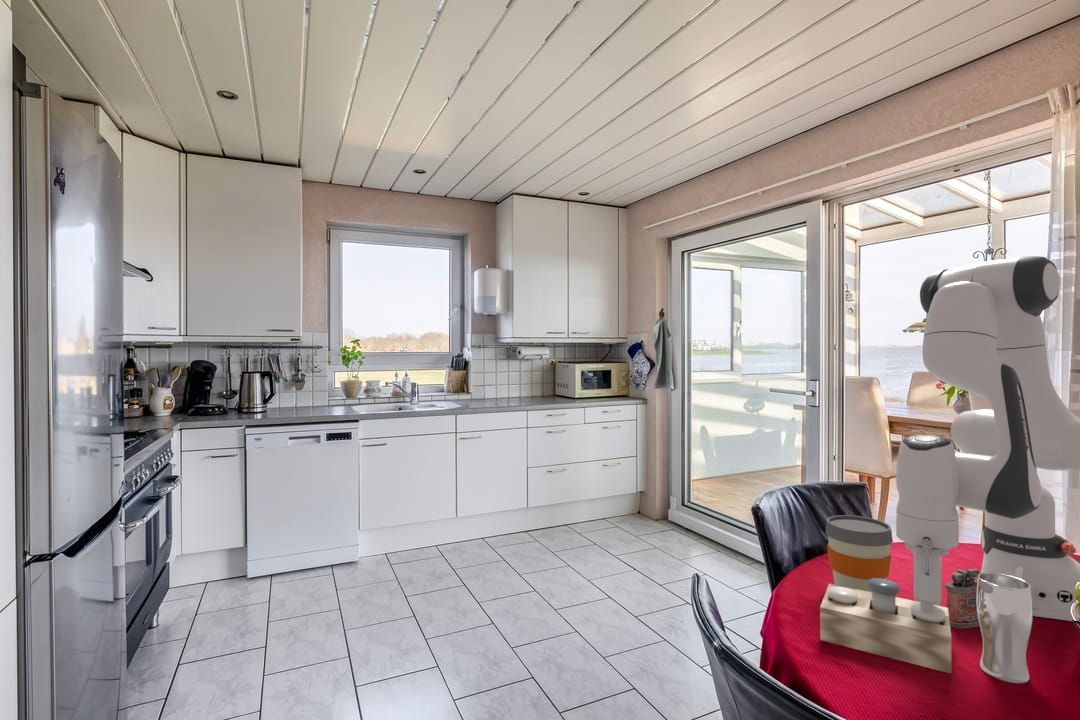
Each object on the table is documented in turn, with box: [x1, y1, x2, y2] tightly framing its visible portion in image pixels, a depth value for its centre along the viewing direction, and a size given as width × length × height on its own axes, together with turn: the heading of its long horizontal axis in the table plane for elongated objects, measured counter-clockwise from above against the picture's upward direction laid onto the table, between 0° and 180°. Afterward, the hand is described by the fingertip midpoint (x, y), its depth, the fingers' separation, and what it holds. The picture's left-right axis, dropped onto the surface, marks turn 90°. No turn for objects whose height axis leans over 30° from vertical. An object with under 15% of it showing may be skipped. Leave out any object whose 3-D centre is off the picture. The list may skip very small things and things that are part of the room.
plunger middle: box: [868, 578, 900, 615], centre depth 98 cm, size 5×5×7 cm
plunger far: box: [828, 587, 857, 606], centre depth 102 cm, size 5×5×7 cm
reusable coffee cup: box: [825, 514, 894, 592], centre depth 118 cm, size 13×13×15 cm
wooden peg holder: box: [819, 583, 952, 674], centre depth 99 cm, size 19×12×6 cm, turn 55°
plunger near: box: [911, 603, 945, 625], centre depth 95 cm, size 5×5×7 cm
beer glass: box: [976, 572, 1034, 684], centre depth 88 cm, size 7×7×15 cm
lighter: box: [944, 568, 981, 629], centre depth 104 cm, size 8×3×10 cm, turn 105°
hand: (926, 609), depth 95 cm, fingers closed, pressing on plunger near
